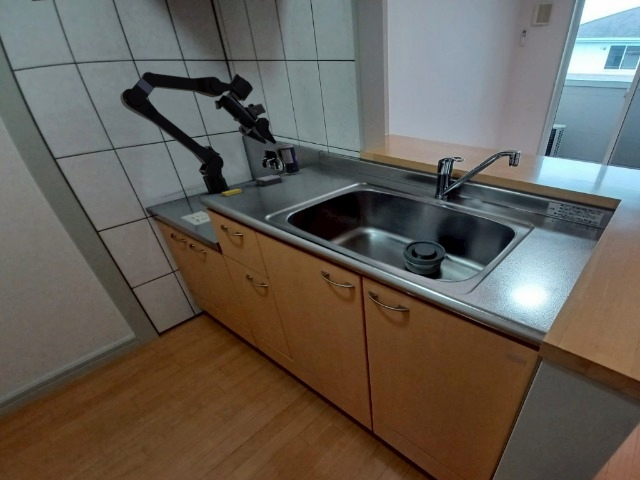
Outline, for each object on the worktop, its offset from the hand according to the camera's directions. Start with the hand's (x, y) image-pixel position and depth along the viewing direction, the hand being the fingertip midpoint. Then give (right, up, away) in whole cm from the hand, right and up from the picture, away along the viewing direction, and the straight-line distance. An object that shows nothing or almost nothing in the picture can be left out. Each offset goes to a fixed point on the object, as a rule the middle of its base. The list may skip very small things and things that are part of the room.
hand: (270, 143), depth 133 cm
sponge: (-9, -26, -14) cm, 30 cm away
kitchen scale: (+1, -18, -4) cm, 19 cm away
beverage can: (+6, -8, +11) cm, 15 cm away
